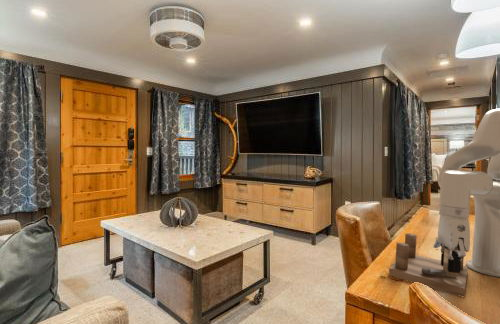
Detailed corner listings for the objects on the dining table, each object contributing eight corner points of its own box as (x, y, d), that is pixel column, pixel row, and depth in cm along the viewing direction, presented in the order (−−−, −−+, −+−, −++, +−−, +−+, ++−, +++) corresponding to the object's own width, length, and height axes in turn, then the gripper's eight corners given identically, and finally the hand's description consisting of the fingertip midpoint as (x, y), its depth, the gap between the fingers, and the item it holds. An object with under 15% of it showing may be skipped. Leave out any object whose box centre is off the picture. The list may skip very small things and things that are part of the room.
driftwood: (436, 238, 136) (436, 234, 136) (453, 241, 132) (453, 237, 132) (431, 251, 120) (431, 246, 120) (450, 255, 116) (451, 250, 116)
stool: (402, 258, 109) (403, 231, 109) (467, 273, 97) (469, 243, 96) (388, 275, 94) (390, 244, 93) (464, 297, 81) (466, 261, 81)
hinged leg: (424, 275, 88) (426, 250, 88) (419, 270, 92) (420, 246, 91) (459, 278, 87) (461, 252, 86) (452, 272, 90) (454, 248, 90)
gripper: (484, 219, 79) (479, 283, 80) (453, 206, 95) (449, 259, 96) (454, 217, 80) (450, 280, 81) (428, 205, 96) (425, 257, 97)
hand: (450, 268), depth 89 cm, fingers closed on hinged leg, 3 cm apart
